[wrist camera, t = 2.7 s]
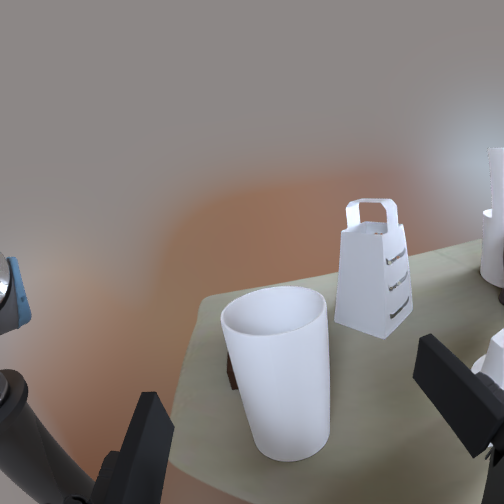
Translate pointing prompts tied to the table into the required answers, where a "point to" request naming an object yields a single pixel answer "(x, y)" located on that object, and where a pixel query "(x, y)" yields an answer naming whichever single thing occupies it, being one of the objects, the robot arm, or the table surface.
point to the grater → (373, 273)
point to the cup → (282, 368)
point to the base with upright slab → (493, 361)
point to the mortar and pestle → (503, 295)
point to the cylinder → (494, 223)
